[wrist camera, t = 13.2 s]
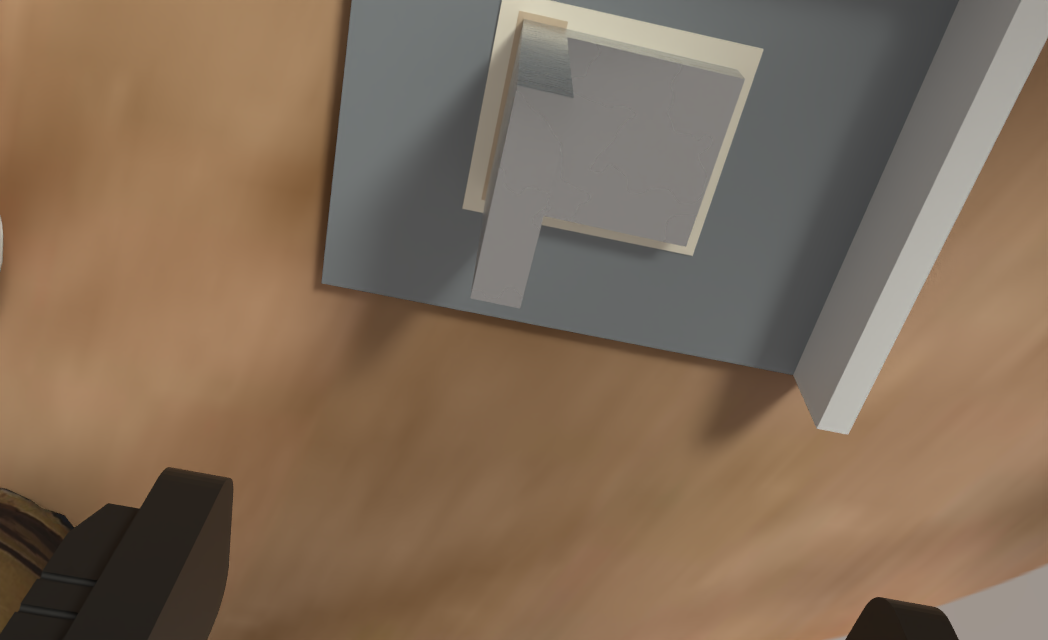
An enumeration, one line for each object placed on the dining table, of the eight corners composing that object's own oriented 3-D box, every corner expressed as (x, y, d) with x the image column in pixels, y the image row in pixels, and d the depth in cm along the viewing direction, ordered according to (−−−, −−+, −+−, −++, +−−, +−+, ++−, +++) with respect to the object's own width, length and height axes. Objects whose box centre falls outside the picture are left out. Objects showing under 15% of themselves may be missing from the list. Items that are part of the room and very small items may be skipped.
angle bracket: (486, 190, 31) (470, 298, 24) (523, 18, 28) (517, 85, 21) (681, 232, 31) (720, 349, 25) (737, 69, 29) (800, 150, 22)
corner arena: (386, -277, 25) (358, -294, 21) (1037, -113, 26) (1117, -102, 23) (326, 273, 34) (298, 330, 30) (816, 369, 35) (848, 434, 32)
